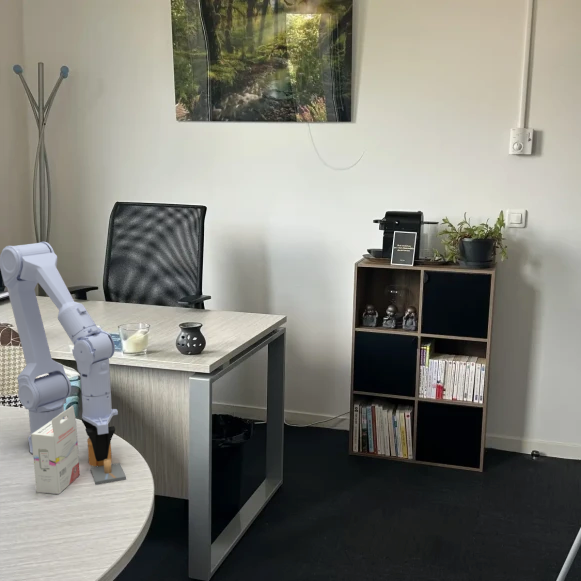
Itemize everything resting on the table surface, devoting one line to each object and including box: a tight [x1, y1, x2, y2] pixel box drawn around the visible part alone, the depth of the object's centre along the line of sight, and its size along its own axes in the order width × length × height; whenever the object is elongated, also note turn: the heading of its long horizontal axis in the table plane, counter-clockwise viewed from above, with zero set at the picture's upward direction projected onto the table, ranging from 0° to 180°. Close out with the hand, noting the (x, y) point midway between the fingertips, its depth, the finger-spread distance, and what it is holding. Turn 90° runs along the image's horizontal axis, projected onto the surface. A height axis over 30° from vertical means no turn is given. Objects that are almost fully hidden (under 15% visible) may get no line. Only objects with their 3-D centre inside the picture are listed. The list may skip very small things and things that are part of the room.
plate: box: [90, 458, 127, 485], centre depth 145 cm, size 7×6×3 cm
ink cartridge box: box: [30, 405, 80, 495], centre depth 140 cm, size 9×5×15 cm, turn 168°
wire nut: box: [86, 437, 112, 467], centre depth 151 cm, size 5×5×5 cm
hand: (99, 455), depth 151 cm, fingers closed on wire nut, 4 cm apart
